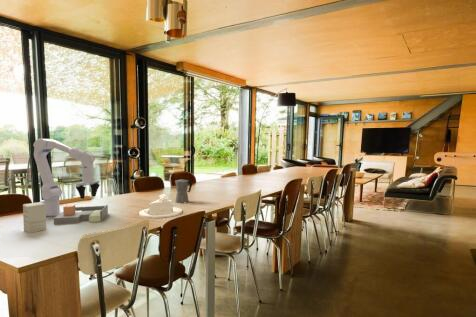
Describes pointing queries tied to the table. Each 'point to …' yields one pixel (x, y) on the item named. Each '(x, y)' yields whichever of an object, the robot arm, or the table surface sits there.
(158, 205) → the dish
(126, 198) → the table surface
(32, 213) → the supplement box
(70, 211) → the block
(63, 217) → the board
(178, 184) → the coffeepot
